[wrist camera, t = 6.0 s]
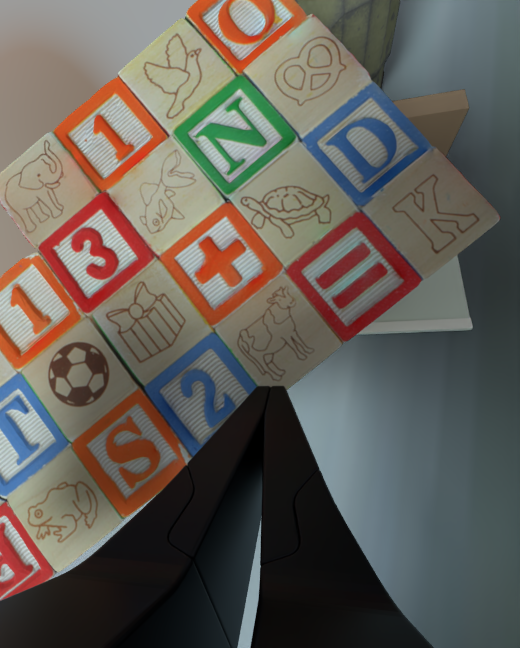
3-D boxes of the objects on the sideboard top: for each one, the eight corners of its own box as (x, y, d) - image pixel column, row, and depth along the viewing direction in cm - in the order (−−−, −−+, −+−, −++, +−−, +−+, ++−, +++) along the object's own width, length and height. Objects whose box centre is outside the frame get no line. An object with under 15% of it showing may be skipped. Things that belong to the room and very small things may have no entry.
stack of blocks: (-18, 643, 10) (-206, 348, 11) (99, 525, 16) (-29, 344, 17) (509, 213, 9) (248, -58, 10) (419, 264, 15) (263, 91, 17)
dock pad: (470, 330, 15) (518, 301, 12) (205, 340, 18) (175, 320, 14) (435, 155, 19) (464, 89, 15) (214, 185, 21) (191, 134, 17)
